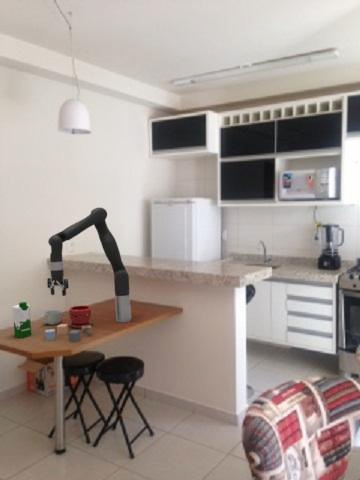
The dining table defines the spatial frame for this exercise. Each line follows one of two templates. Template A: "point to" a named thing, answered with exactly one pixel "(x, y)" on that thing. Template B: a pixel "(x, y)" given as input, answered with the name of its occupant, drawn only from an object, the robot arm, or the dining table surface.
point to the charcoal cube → (74, 336)
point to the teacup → (52, 316)
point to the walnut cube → (86, 331)
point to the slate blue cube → (50, 334)
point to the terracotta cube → (62, 329)
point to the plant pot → (80, 316)
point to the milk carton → (22, 320)
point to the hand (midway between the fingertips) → (58, 295)
